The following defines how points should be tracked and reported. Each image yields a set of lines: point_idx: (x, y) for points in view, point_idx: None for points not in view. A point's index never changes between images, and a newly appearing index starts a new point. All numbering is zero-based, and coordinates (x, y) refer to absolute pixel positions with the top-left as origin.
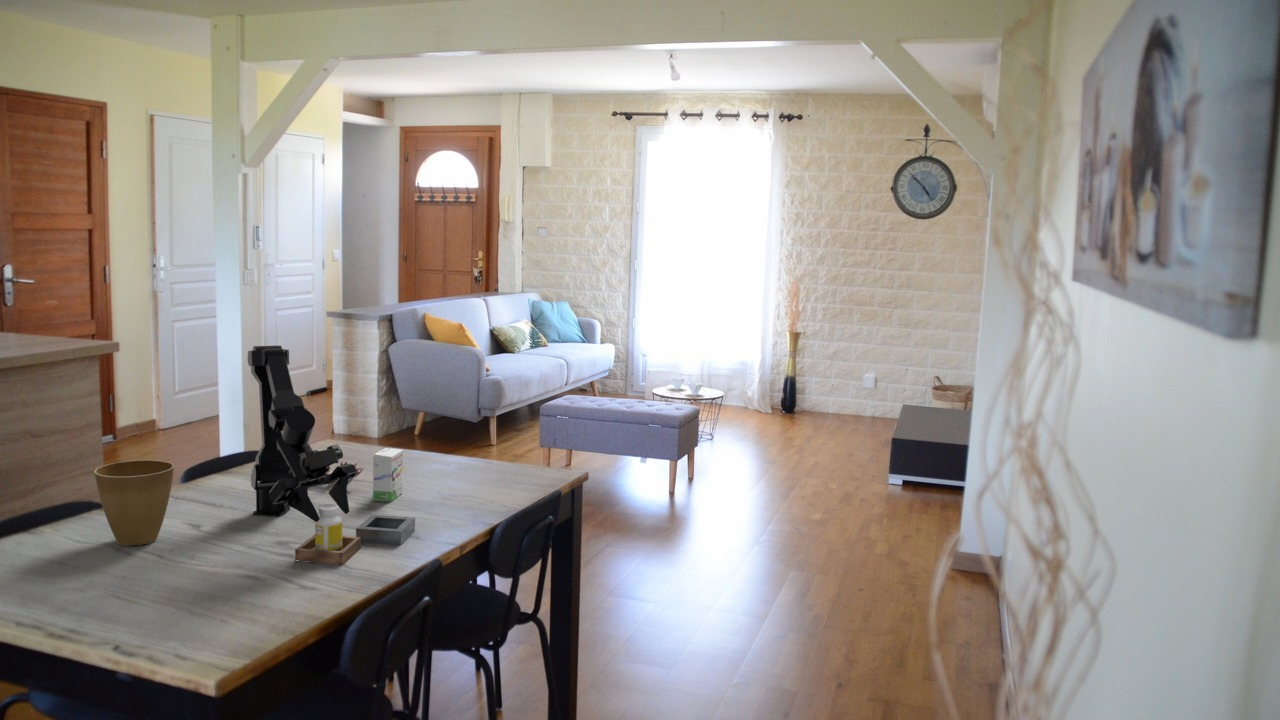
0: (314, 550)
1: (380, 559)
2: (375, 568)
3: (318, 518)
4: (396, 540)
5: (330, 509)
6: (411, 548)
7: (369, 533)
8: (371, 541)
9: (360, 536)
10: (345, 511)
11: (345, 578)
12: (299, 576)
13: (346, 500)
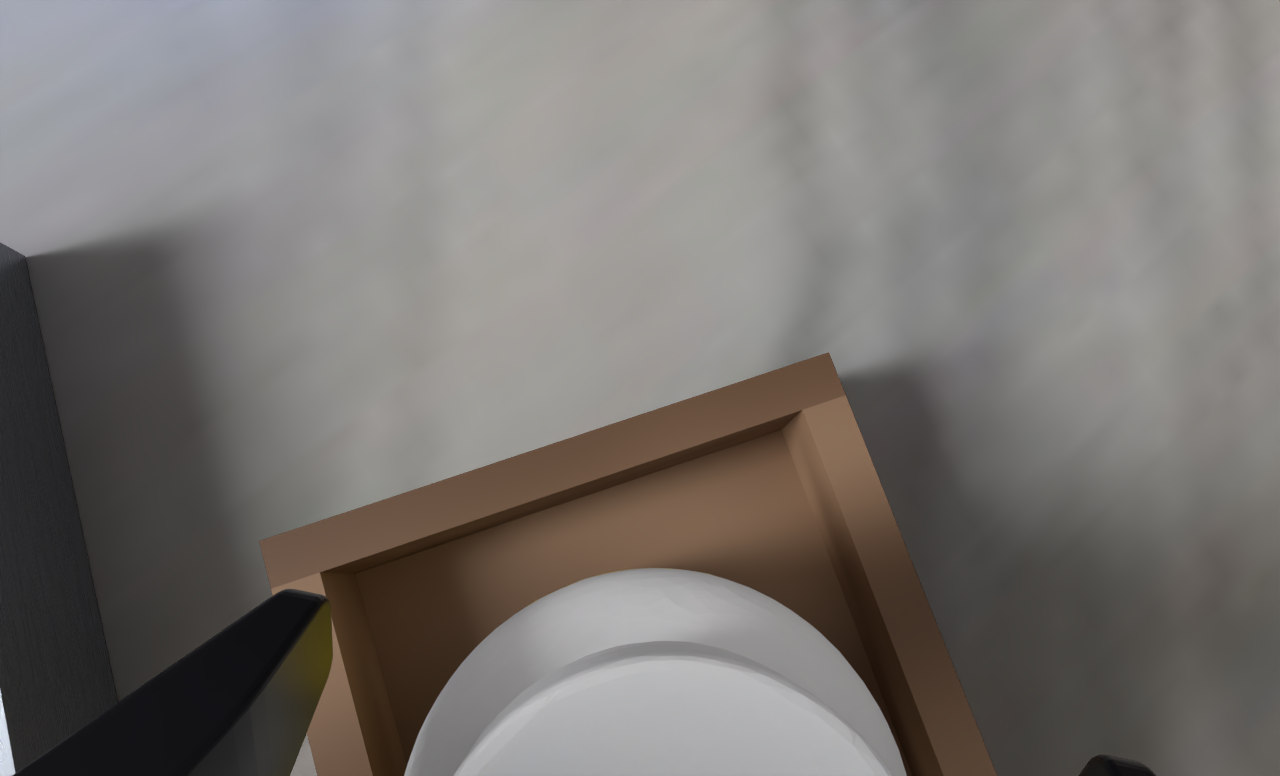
0: (952, 706)
1: (493, 176)
2: (713, 76)
3: (1135, 769)
4: (1, 287)
5: (831, 725)
6: (81, 111)
7: (21, 593)
8: (80, 567)
9: (77, 706)
10: (314, 675)
11: (1050, 144)
12: (1270, 534)
13: (80, 773)
